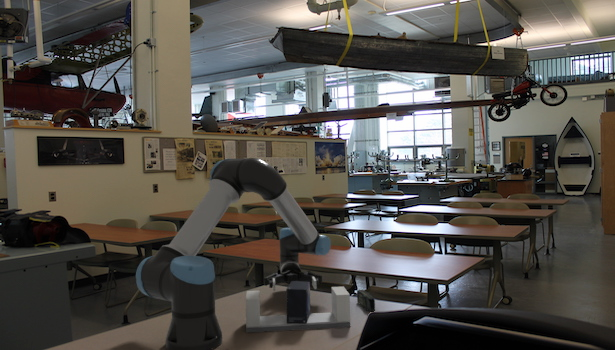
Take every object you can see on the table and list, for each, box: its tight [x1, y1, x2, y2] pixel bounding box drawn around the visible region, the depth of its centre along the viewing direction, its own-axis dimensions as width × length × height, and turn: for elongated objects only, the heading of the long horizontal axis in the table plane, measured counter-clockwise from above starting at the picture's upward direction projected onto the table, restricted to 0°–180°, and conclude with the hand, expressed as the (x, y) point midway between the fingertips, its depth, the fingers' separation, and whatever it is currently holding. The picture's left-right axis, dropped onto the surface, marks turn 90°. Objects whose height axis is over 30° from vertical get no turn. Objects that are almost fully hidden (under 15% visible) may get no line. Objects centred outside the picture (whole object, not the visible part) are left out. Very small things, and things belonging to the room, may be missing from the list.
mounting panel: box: [245, 311, 351, 333], centre depth 138 cm, size 31×10×2 cm, turn 96°
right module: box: [331, 285, 351, 322], centre depth 139 cm, size 4×10×8 cm, turn 6°
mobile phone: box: [356, 289, 376, 312], centre depth 154 cm, size 5×3×15 cm
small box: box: [285, 281, 311, 324], centre depth 138 cm, size 11×6×10 cm, turn 174°
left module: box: [245, 289, 261, 327], centre depth 137 cm, size 4×10×8 cm, turn 6°
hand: (294, 285), depth 148 cm, fingers open, 13 cm apart
